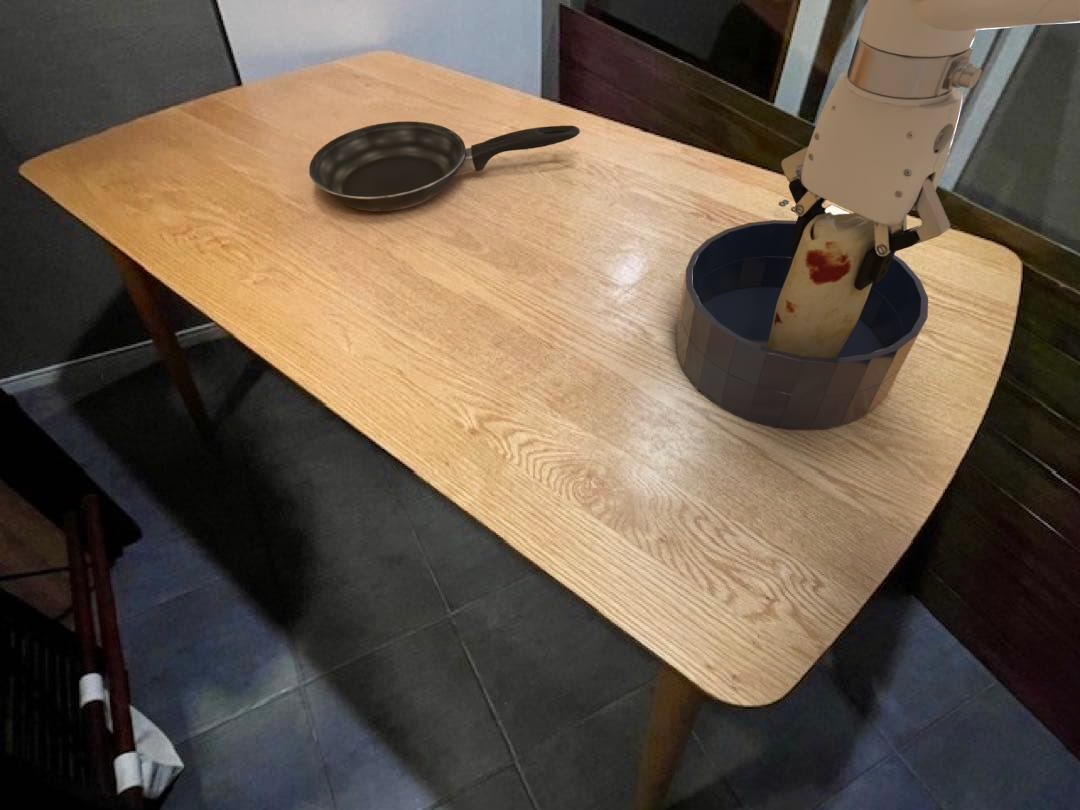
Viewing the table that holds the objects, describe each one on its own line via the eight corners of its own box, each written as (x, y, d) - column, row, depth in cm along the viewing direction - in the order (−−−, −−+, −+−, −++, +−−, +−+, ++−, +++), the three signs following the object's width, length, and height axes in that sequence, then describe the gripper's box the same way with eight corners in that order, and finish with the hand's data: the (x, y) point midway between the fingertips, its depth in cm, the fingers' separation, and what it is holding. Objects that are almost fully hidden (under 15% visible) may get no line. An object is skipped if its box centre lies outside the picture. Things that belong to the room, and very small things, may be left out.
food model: (779, 410, 68) (834, 252, 54) (740, 372, 73) (781, 215, 58) (849, 380, 71) (920, 220, 56) (808, 344, 75) (864, 187, 60)
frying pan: (306, 232, 98) (291, 191, 93) (329, 154, 114) (318, 116, 109) (590, 209, 98) (590, 167, 93) (572, 135, 115) (571, 97, 110)
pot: (936, 360, 73) (976, 290, 66) (799, 468, 64) (828, 401, 57) (766, 265, 87) (784, 198, 79) (633, 342, 78) (639, 275, 70)
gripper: (1050, 86, 44) (941, 293, 57) (835, 25, 54) (784, 215, 67) (993, 118, 41) (892, 328, 55) (777, 48, 51) (736, 241, 64)
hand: (833, 264), depth 61 cm, fingers open, 6 cm apart
